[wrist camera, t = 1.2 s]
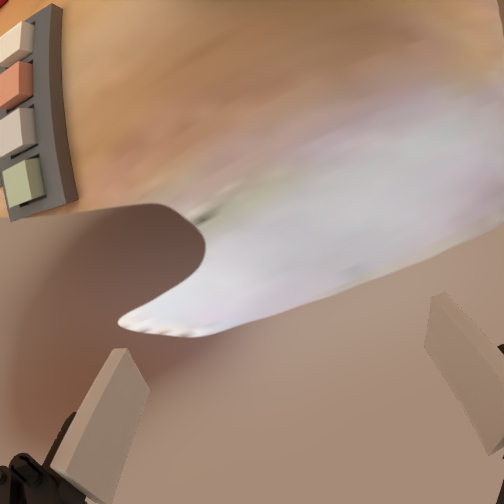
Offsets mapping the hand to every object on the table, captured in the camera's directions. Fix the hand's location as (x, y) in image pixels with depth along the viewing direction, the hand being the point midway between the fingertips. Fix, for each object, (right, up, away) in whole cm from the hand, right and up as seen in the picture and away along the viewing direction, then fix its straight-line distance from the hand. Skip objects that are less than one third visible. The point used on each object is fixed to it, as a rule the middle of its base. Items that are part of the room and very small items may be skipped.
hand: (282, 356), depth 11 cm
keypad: (-32, +24, +17) cm, 44 cm away
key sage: (-31, +14, +19) cm, 38 cm away
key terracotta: (-33, +27, +14) cm, 44 cm away
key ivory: (-34, +33, +12) cm, 49 cm away
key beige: (-32, +20, +16) cm, 41 cm away
